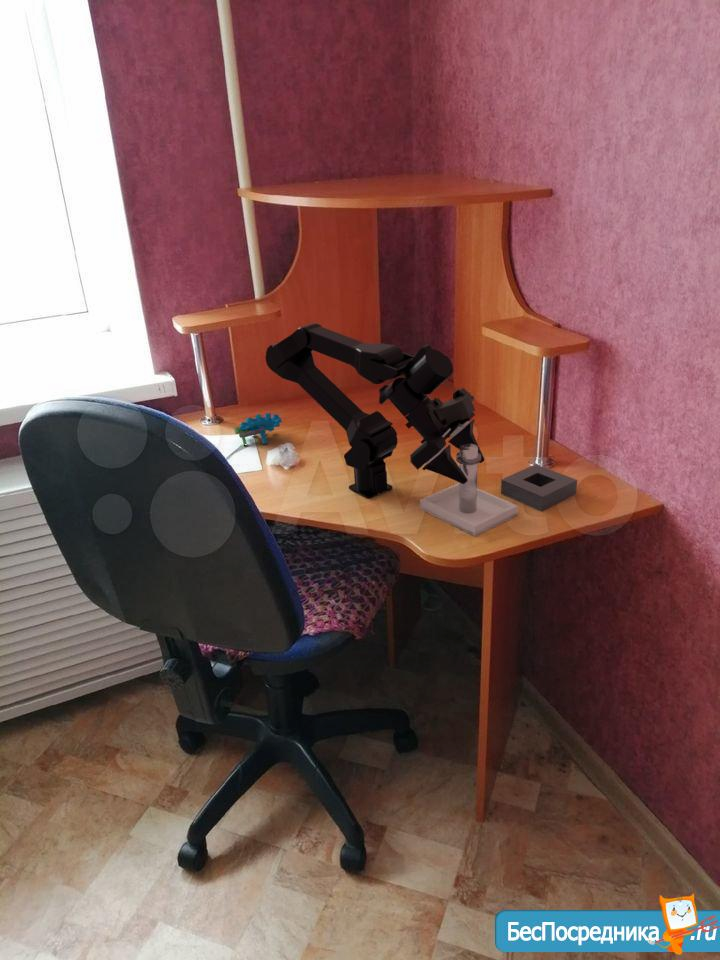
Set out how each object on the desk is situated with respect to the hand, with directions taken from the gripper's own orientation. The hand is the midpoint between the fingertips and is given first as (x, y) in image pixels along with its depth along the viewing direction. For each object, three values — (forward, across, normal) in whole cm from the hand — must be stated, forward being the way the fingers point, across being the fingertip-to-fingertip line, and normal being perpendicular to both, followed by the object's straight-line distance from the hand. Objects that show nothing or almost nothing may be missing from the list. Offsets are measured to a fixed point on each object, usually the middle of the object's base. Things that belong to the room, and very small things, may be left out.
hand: (474, 471), depth 135 cm
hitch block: (+12, +12, 0) cm, 17 cm away
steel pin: (+5, 0, +6) cm, 8 cm away
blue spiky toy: (-35, +16, +47) cm, 61 cm away
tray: (+5, 0, +7) cm, 9 cm away
